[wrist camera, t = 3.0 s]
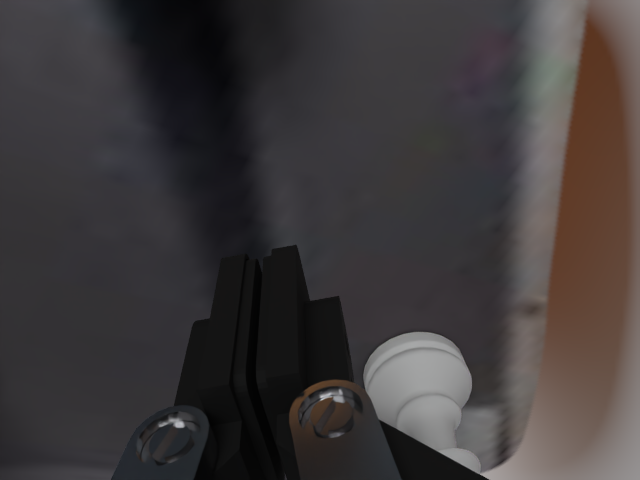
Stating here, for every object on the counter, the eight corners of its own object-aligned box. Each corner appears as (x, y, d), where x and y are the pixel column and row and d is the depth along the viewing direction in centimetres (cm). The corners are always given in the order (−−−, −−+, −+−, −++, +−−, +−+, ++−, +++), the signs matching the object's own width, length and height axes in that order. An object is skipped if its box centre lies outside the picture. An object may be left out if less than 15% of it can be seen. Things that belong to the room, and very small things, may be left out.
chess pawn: (350, 346, 27) (384, 523, 19) (453, 317, 26) (531, 485, 18) (375, 416, 29) (414, 598, 21) (470, 390, 29) (544, 566, 21)
